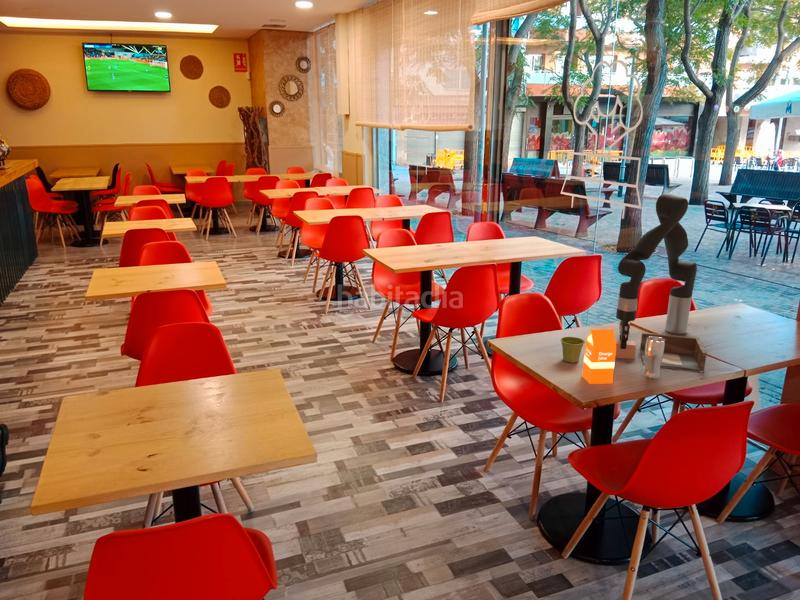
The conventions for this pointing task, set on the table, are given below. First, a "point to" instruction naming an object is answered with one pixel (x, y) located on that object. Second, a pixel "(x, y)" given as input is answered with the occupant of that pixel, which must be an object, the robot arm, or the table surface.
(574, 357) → the plant pot
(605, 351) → the orange juice
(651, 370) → the beer glass
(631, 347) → the terracotta bar
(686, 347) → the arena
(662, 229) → the robot arm
